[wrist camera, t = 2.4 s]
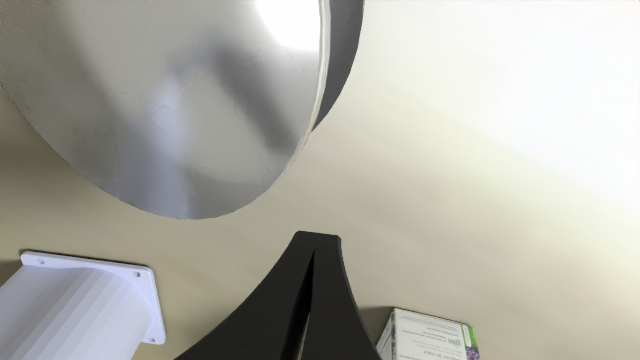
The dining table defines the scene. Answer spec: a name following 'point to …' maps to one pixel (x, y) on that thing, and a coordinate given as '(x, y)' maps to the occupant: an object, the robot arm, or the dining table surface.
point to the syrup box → (426, 338)
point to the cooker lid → (170, 93)
